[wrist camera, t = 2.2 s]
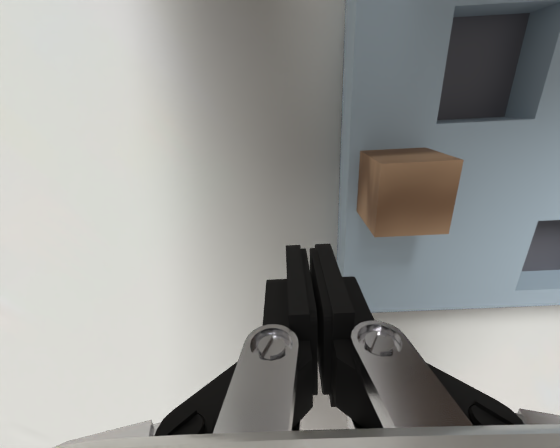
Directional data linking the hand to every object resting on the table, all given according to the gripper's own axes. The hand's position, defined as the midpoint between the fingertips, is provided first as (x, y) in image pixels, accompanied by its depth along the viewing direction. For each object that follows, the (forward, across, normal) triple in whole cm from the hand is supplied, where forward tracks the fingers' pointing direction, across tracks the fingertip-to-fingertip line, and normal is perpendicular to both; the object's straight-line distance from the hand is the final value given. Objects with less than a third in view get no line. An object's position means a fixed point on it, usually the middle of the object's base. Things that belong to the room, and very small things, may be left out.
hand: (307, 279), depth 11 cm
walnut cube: (+11, -7, -1) cm, 13 cm away
